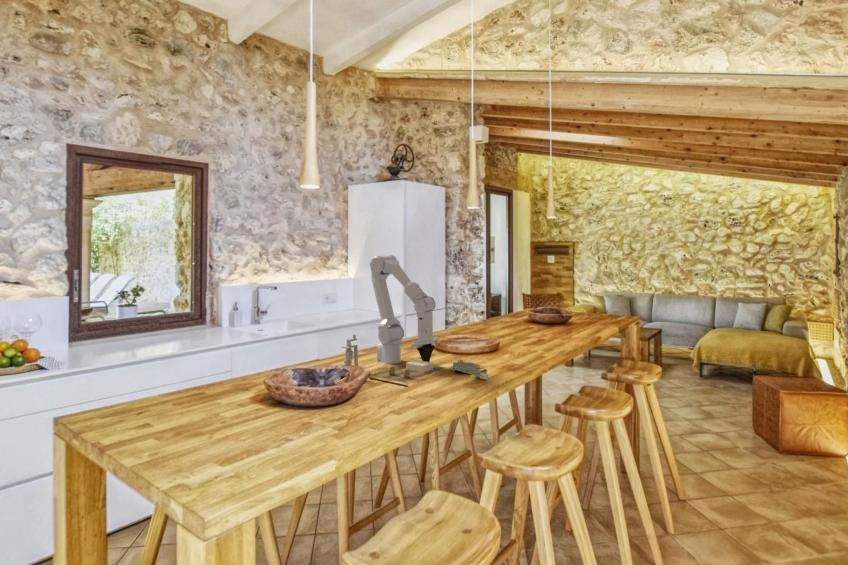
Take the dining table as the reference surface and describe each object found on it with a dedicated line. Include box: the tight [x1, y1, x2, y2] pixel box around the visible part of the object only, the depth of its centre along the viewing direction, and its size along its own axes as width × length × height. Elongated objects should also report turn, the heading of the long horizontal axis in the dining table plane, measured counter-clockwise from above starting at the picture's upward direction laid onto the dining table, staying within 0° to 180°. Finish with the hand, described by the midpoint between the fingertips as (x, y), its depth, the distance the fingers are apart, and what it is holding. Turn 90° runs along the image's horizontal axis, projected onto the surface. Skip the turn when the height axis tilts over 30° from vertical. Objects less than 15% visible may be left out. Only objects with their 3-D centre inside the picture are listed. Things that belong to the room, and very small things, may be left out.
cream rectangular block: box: [405, 359, 434, 373], centre depth 182 cm, size 8×6×2 cm
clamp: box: [341, 334, 359, 367], centre depth 179 cm, size 4×10×15 cm, turn 160°
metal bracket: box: [452, 358, 490, 381], centre depth 179 cm, size 14×6×15 cm
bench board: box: [368, 363, 446, 388], centre depth 180 cm, size 17×24×4 cm
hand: (425, 364), depth 185 cm, fingers closed
